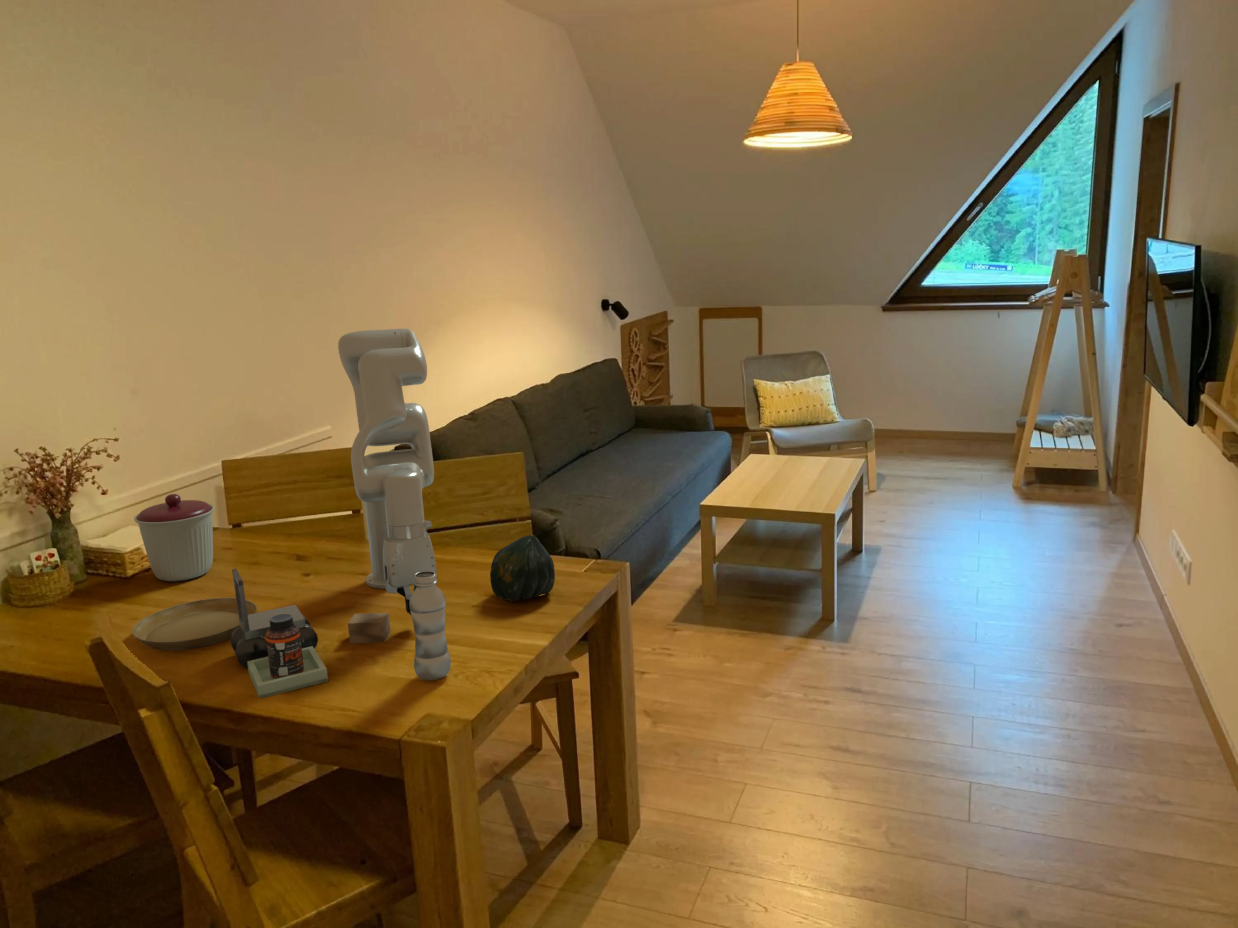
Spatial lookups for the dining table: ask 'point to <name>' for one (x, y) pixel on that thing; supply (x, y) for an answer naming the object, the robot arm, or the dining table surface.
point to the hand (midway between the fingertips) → (414, 614)
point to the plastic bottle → (429, 628)
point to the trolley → (262, 627)
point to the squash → (522, 570)
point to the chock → (369, 628)
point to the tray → (270, 686)
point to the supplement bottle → (284, 647)
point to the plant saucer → (191, 624)
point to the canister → (178, 538)
